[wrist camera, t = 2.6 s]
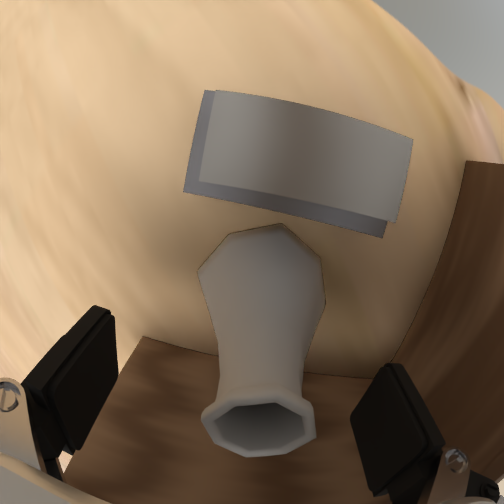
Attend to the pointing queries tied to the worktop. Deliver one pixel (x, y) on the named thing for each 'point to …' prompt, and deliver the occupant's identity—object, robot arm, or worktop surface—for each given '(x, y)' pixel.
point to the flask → (262, 339)
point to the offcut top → (305, 154)
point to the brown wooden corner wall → (317, 393)
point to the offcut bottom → (266, 199)
